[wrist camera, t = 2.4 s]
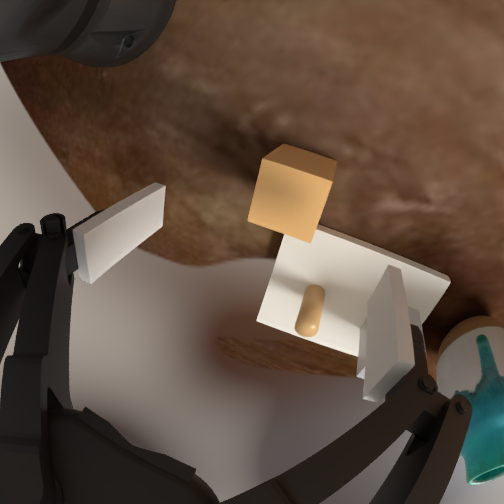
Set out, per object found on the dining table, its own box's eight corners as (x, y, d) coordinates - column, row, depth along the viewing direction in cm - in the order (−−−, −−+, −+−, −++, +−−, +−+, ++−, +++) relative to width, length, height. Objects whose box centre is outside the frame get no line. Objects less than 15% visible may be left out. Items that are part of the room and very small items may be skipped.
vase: (422, 363, 32) (424, 498, 17) (441, 300, 28) (469, 462, 12) (488, 359, 29) (508, 482, 13) (513, 298, 24) (564, 435, 8)
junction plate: (259, 314, 36) (236, 363, 30) (291, 214, 29) (269, 256, 22) (388, 359, 34) (387, 411, 27) (448, 276, 26) (467, 329, 19)
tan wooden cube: (270, 192, 28) (247, 221, 22) (283, 143, 25) (262, 158, 20) (320, 209, 27) (310, 243, 22) (337, 160, 25) (332, 181, 19)
